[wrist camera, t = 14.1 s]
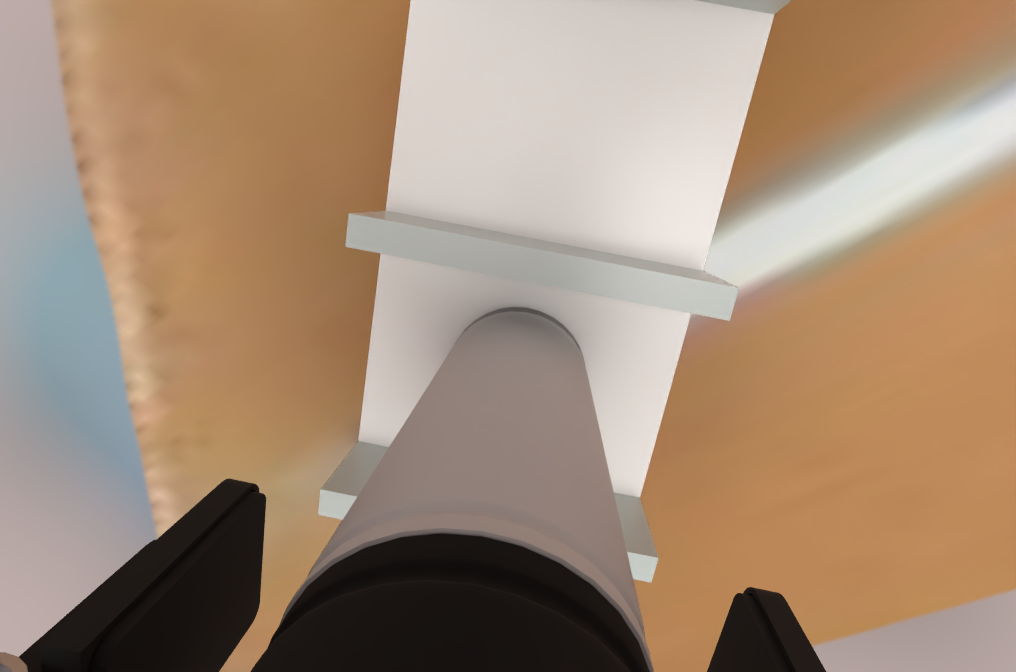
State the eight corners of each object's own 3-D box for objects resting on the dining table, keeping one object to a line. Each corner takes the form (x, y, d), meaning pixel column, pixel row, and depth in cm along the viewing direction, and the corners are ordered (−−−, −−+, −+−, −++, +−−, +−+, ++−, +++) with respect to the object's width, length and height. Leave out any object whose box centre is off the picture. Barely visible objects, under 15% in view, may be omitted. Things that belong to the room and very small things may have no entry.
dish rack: (429, -67, 22) (386, -163, 16) (768, -6, 22) (849, -82, 16) (365, 449, 28) (318, 514, 22) (629, 502, 28) (651, 582, 22)
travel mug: (618, 382, 24) (880, 1069, 5) (504, 457, 26) (376, 1226, 7) (537, 273, 24) (486, 621, 4) (423, 358, 25) (-11, 913, 6)
